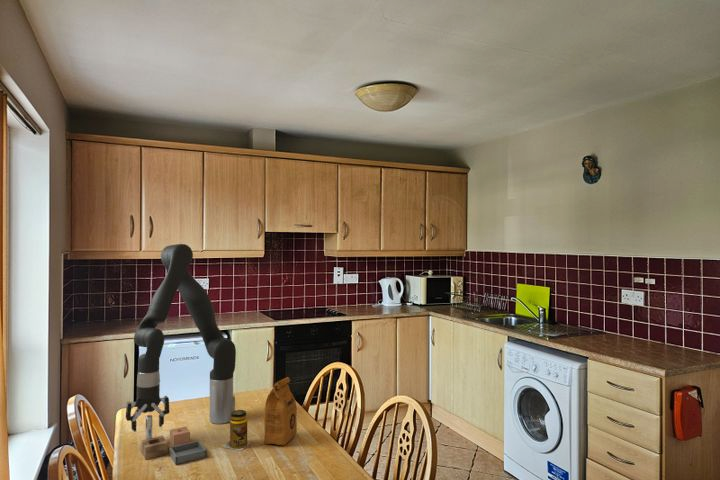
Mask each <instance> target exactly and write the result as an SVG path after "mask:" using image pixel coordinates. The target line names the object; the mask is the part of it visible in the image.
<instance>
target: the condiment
mask: <svg viewBox="0 0 720 480" xmlns="http://www.w3.org/2000/svg"><path fill="white" fill-rule="evenodd" d="M250 444H252V441H251V440H250V441H249V440H248V419H247V411H246V410H244V409H237V410H236V409H235V411H233V412H232V413H231V420H230V422H229V440H228V441H227V442H225V443H224V444H223V445H221V448H225V449H226V448H227V449H230V450H236V451H242V450H244V449H246V448H247V447H248V446H249V445H250Z"/></svg>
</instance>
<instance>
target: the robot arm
mask: <svg viewBox="0 0 720 480" xmlns="http://www.w3.org/2000/svg"><path fill="white" fill-rule="evenodd" d="M193 258H194V253H193V250H192V248H191V247H190V246H189V245H187V244H185V243H177V244H171V245H167V246H165V247H164V248H163V249H162V251H161V253H160V259H161V262H162V265H163V266H164V269H166V271H167V273H166V275H165V277H164V279H163V280H162V282H161V284H160V285H159V287H158V288H157V289H156V291H155V293H154V295H153V296H152V299H151V301H150V303H149V306H148V310H147V312H146V314H145V316H144V317H143V318H142V320H141V322H140V323H139V324H138V327H137V328H136V329H135V332H134V335H133V339H134V341H133V342H134V343H135V344H136V345H137V346H138V347H141V348H146V351H145V353H143V354H141V355H139V356H138V359H137V361H138V362H137V375H136V376H137V378H136V399H135V401H132V402H131V401H127V402H126V409H125V419H126V421H128V422H130V421H131V422H130V424H131V430H132V431H133V432H135V433H136V432H137V420H138V418H139V417H140V416H141V415H142V413H143V414H147V413H154V411H156V413H158V427H159V428H162V426H163V425H164V423H165V415H168V414H170V399H169V397H168V395H164V396H163V397H160V396H161V395H160V392H161V391H160V390H161V389H160V387H161V384H160V382H161V379H160V377H161V375H160V358H161V355H162V351H163V347H164V344H165V336H164V335H165V334H164V332H163V331H162V330H161V329H159V328H157V326H158V325H159V324H162V323H165V322H166V320H167V318H168V315H169V312H170V309H171V307H172V304H173V301H174V298H175V295H176V293H177V291H178V292H179V294H180V296H181V298H182V300H183V303H184V304H185V307H186V308H187V311H188V313H189V315H190V317H191V319H192V321H193V322H194V324H195V326H196V328H197V329H198V332H199V333H200V335H201V338H202V340H203V343H204V347H205V349H206V352H207V355H208V356H209V357H210V358H211V359H213V365H212V366H213V368H212V369H211V370H210V371H209V422H210V423H212V424H214V425H215V424H216V425H217V424H219V425H221V424H226V423H230V420H231V413H232V412H233V411H235V410H236V396H235V395H234V373H235V370H236V361H237V357H236V355H237V351H236V350H237V349H236V344H235V343H234V341H232V340H231V339H228V338H226V337H225V336H224V335H223V333H222V332H221V330H220V328H219V326H218V323H217V320H216V312H215V308H214V305H213V302H212V300H211V299H210V296H209V294H208V292H207V290H206V289H205V288H204V287H203V286H202V285H201V284H200V283H199V282H198V280H196V278H195V277H194V276H193V275H192V273H191V272H190V271H189V267H190V266H191V264H192V261H193ZM161 402H162V403H163V407H164V410H161V408H160V407H159V406H160V403H161ZM135 406H136V409H135V411H134V413H133V414H132V413H131V412H132V409H134V407H135Z"/></svg>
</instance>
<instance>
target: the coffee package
mask: <svg viewBox="0 0 720 480" xmlns="http://www.w3.org/2000/svg"><path fill="white" fill-rule="evenodd" d="M290 382H291V379H290V377H289V376H287V377H285V378H283V379H280V380H278V381H277V382H276V383H274V384H273V387H272V389H270V391H269V394H268V395H267V396H266V400H265V407H264V418H263V419H264V420H263V421H264V444H265V445H271V444H272V445H277V446H285V445H286V444H287V443H288V442H289V441H290V440H291V439H293V438H294V436H296V434H297V432H298V428H297V413H298V412H297V410H298V407H297V401H296V399H295V397H294V395H293V393H292V392H291V389H290V387H289V384H288V383H290Z"/></svg>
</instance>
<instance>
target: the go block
mask: <svg viewBox="0 0 720 480" xmlns="http://www.w3.org/2000/svg"><path fill="white" fill-rule="evenodd" d="M140 441H141V442H140V443H141V447H140V449H141V450H140V451H141V454H142V456H143V458H144V459H145V460H149V459H154V458H158V457H162V456H165V455H166V456H167V455H168V441H167V439H166V438H165V437H164V436H163V435H159V436H155V437H152V438H150V439H146V438H145V439H141V440H140Z"/></svg>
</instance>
